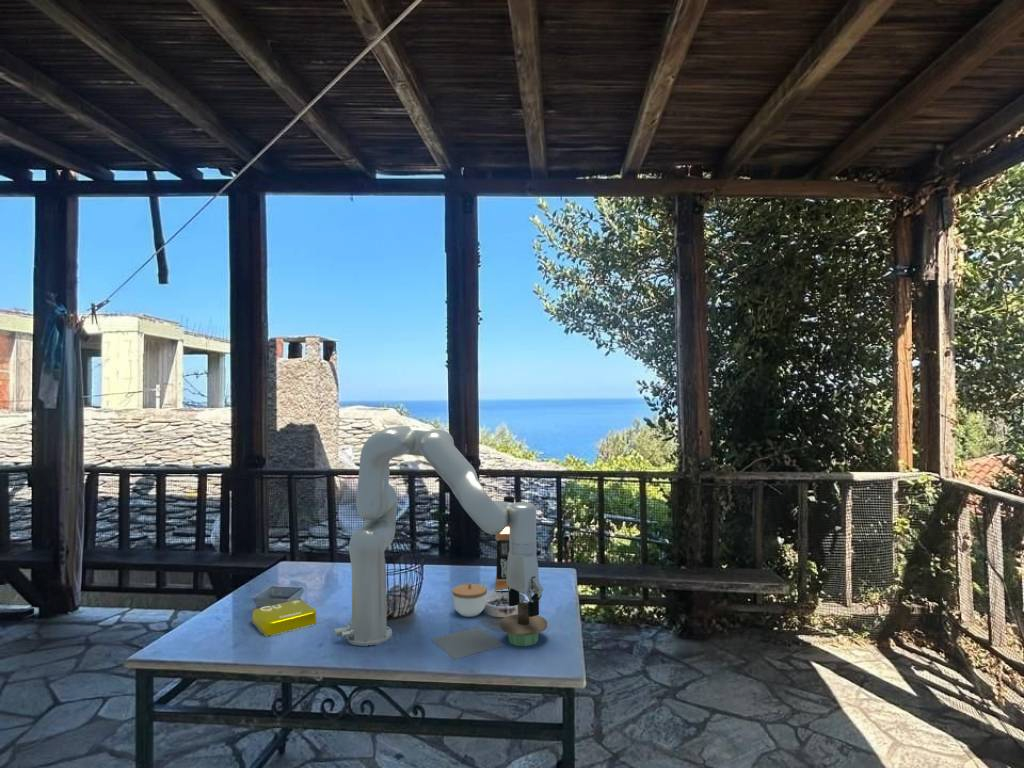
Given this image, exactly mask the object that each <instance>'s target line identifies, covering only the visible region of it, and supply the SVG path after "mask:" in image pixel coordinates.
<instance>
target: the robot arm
mask: <svg viewBox="0 0 1024 768" xmlns="http://www.w3.org/2000/svg"><path fill="white" fill-rule="evenodd" d="M404 455H408V456H417V457H423V458H424V459H425V461H427V463H429V465H430V466H431V467H432V469H434V471H435V472H436V473H437V474H438V476H440V477H441V478H442V480H443V481H444V482H445V483H446V484H447V485H448V486H449V488H450V490H451V491H452V493H453V494H454V497H455V498H456V499H457V500H458V503H459V504H460V506H461V507H462V508H463V509H464V511H465V512H466V513H467V515H468V516H469V517H470V518H471V519H472V520H473V522H474V523H475V524H476V525H477V526H478V527H479V528H480V529H481V530H482V531H484V532H485V533H487V534H489V535H495V534H498V533H500V532H501V531H502V530H503V529H504V528H505V526H508V527H509V550H510V551H509V554H508V560H507V572H506V573H505V575H506V579H507V581H506V582H507V585H508V591H510V592H508V605H509V606H510V607H514V606H518V603H520V593H521V594H526V595H527V598H528V600H529V601H527V603H528V616H529V617H533V616H540V601H541V598H542V594H543V591H544V587H543V586H542V585H541V583H540V573H539V562H538V558H537V557H538V554H537V550H538V549H537V507H536V505H535V504H534V503H532V502H526V501H518V502H514V503H510V502H504V500H503V501H502V500H493V499H492V498H491V497H490V496H489V495H488V493H487V492H486V491H485V489H484V488H483V486H482V484H481V483H480V480H479V478H478V475H477V471H476V469H475V468H474V467H473V465H472V464H471V463H470V462H469V461H468V459H467V458H466V457H465V456H464V455H463V454H462V453H461V452H460V450H459V449H458V448H457V447H456V446H455V441H454V438H453V436H452V434H450V433H449V432H448V431H446V430H444V429H440V428H439V429H438V428H437V429H436V428H426V427H415V426H408V425H398V426H392V427H388V428H384V429H382V430H378V431H377V432H375V433H374V434H372V435H370V437H368V438H367V439H366V441H365V442H364V444H363V445H362V448H361V451H360V457H359V468H358V469H359V470H358V479H357V491H356V499H355V507H356V508H355V509H356V511H357V514H358V516H359V517H360V518H362V519H363V520H364V523H363V524H362V525H361V526H359V527H358V528H356V530H355V531H354V532H353V533H352V535H351V537H350V539H349V545H348V553H349V557H350V558H349V559H350V566H351V620H350V621H348V624H347V625H345V626H344V627H337V628H334V631H333V633H334V636H335V637H338V636H339V637H340V636H341V637H342V638H345V639H346V642H347V643H349V644H350V645H353V646H357V645H358V646H360V647H369V646H368V645H370V646H375V645H379V644H381V643H384V642H387V641H389V639H391V638H392V636H393V630H392V628H391V627H390V626H387V625H388V624H387V565H386V558H385V550H386V549H388V547H390V545H391V544H392V543H393V542H394V539H395V535H396V526H397V525H396V524H397V523H396V522H397V513H398V511H397V510H398V496H397V491H396V489H395V488H394V487H393V485H391V484H390V473H391V472H390V469H391V468H390V462H391V460H392V459H395V458H399V457H400V456H404ZM532 594H533V595H532ZM358 646H357V647H358Z"/></svg>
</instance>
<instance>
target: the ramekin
mask: <svg viewBox="0 0 1024 768" xmlns="http://www.w3.org/2000/svg"><path fill="white" fill-rule="evenodd" d="M539 634H540V633H537V634H532V635H516V634H511V633H507V635H508V642H509V643H510V644H512V645H514V646H517V647H527V646H528V647H529V646H532V645H536V644H537V643H538V642H539Z"/></svg>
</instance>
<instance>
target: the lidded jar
mask: <svg viewBox="0 0 1024 768" xmlns="http://www.w3.org/2000/svg"><path fill="white" fill-rule="evenodd" d="M451 590H452V602H453V606H454V608H455V611H456V612H457V613H458V614H459V615H460V616H463V617H467V618H468V617H470V618H471V617H477V616H479V615H480V614H481V613H482V612H483V610H484V609H485V606H486V605H487V598H488V596H487V592H488V588H487V587H486V586H485V585H483V584H478V583H470V582H469V583H464V584H460V585H456V586H455V587H453V588H452V589H451Z"/></svg>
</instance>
